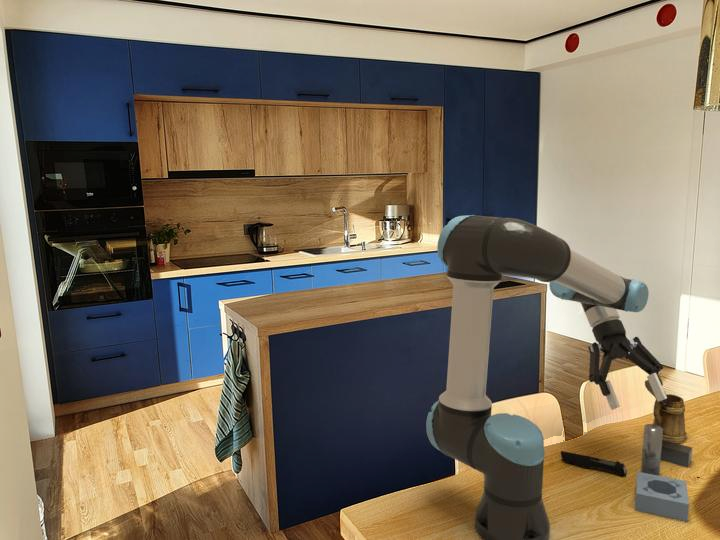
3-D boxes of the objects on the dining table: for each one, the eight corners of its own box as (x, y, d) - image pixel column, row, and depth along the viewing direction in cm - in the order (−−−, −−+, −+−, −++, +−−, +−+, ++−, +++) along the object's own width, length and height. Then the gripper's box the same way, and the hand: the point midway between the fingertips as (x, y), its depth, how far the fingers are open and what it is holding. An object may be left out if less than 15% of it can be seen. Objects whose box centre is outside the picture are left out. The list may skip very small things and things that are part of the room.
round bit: (641, 475, 139) (644, 429, 137) (641, 468, 142) (644, 422, 140) (659, 479, 137) (663, 432, 135) (659, 471, 141) (662, 425, 139)
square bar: (644, 456, 148) (645, 442, 148) (648, 450, 152) (649, 436, 151) (687, 468, 142) (689, 453, 141) (691, 462, 145) (692, 447, 144)
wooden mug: (630, 435, 159) (635, 374, 156) (665, 426, 164) (670, 366, 161) (658, 450, 151) (663, 385, 148) (694, 439, 156) (699, 377, 153)
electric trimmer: (561, 458, 149) (562, 447, 148) (627, 472, 141) (627, 460, 141) (558, 465, 146) (559, 453, 145) (625, 479, 138) (626, 467, 138)
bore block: (635, 510, 125) (636, 493, 125) (636, 487, 134) (637, 471, 133) (687, 521, 121) (688, 504, 120) (684, 497, 130) (686, 481, 129)
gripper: (637, 324, 155) (671, 400, 145) (556, 334, 148) (587, 415, 139) (654, 312, 148) (691, 392, 139) (571, 323, 142) (604, 407, 132)
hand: (639, 404), depth 139 cm, fingers open, 13 cm apart
